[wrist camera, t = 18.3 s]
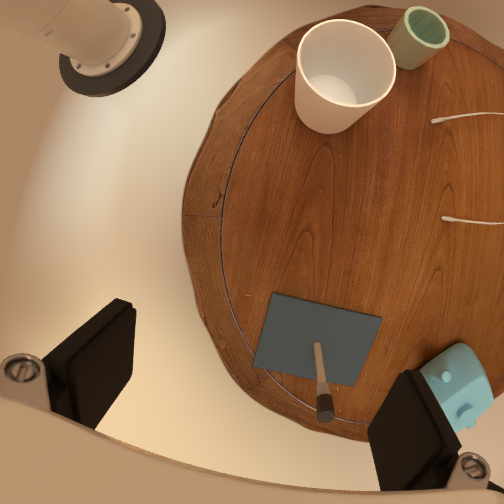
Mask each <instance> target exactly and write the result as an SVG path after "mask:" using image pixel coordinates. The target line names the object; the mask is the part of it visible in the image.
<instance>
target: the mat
mask: <svg viewBox="0 0 504 504" xmlns="http://www.w3.org/2000/svg"><path fill="white" fill-rule="evenodd" d="M381 322H382V317H378V316H374V315H369V314H365V313H360V312H356V311H351V310H347V309H343V308H338V307H334V306H330V305H325V304H321V303H317V302H313V301H308V300H304V299H300V298H296V297H292V296H288V295H284V294H280V293H276V292H272V296H271V300H270V303H269V307H268V311H267V314H266V318H265V322H264V325H263V329H262V333H261V336H260V340H259V343H258V347H257V351H256V354H255V358H254V361H253V365H252V366H255V367H259V368H263V369H267V370H272V371H276V372H281V373H285V374H290V375H294V376H299V377H304V378H309V379H314V380H317V370H316V361H315V352H314V344H315V343H316V342H319V343H320V344H321V350H322V356H323V363H324V369H325V376H326V382H330V383H336V384H342V385H348V386H354V384H355V382H356V380H357V378H358V376H359V373H360V371H361V369H362V367H363V365H364V362H365V360H366V358H367V356H368V353H369V351H370V349H371V346H372V344H373V341H374V339H375V337H376V334H377V332H378V329H379V327H380V324H381Z"/></svg>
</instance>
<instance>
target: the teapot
mask: <svg viewBox="0 0 504 504" xmlns="http://www.w3.org/2000/svg"><path fill="white" fill-rule="evenodd" d="M419 371H420V372H421V373H422V374H423V376H424V378H425V380H426V381H427V383H428V385H429V386H430V388H431V390H432V392H433V393H434V395H435V397H436V399H437V401H438V402H439V404H440V406H441V408H442V410H443V411H444V413H445V415H446V417H447V419H448V421H449V422H450V424H451V426H452V428H453V430H454V432H455V433H457V432H458V431H460V430H462V429H463V428H465V427H467V428H468V429H469V428H471V427H473V426H474V425H475V424H476V421H475V419H477V418H478V417H479V416H480V415H481V414H483V413H484V412H485V411H486V410H487V409H488V408H489V407H490V406H491V404H492V403H493V401H494V398H493V394H492V391H491V388H490V384H489V381H488V379H487V376H486V374H485V371H484V369H483V367H482V365H481V363H480V362H479V360H478V358H477V357H476V355H475V353H474V352H473V351H472V349H471V348H470V347H469V346H468V345H466V344H463V343H457V344H455V345H453V346H451V347H449V348H448V349H446V350H445V351H443V352H442V353H440V354H439V355H437V356H436V357H435V358H433V359H432V360H431V361H429V362H428V363H427V364H426V365H425V366H424V367H422V368H421V369H420V370H419Z"/></svg>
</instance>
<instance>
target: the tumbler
mask: <svg viewBox="0 0 504 504" xmlns="http://www.w3.org/2000/svg"><path fill="white" fill-rule="evenodd" d="M385 42H386V43H387V44H388V46H389V48H390V49H391V51H392V53H393V56H394V59H395V63H396V66H398V67H400V68H402V69H406V70H413V69H416V68H418V67H420V66H421V65H422V64H424V63H425V62H426V61H427V60H429V59H430V58H431V57H432V56H433V55H435V54H436V53H437V52H438V51H440V50H441V49H442V48H443V47H445V45H446V44H447V43H448V42H449V30H448V28H447V25H446V23H445V22H444V21H443V19H442V18H441V17H440V16H439V15H438V14H437V13H435V12H434V11H432V10H430V9H428V8H425V7H421V6H416V7H410V8H409V9H408V10H407V11H406V12H405V14H404V15H403V16H402V18H401V19H400V20H399V22H398V23H397V25H396V26H395V27H394V29H393V30H392V32H391V33H390V34H389V36H388V37H387V39H386V41H385Z"/></svg>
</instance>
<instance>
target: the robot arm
mask: <svg viewBox="0 0 504 504" xmlns="http://www.w3.org/2000/svg"><path fill="white" fill-rule="evenodd" d="M142 29H143V25H142V19H141V16H140V14H139V12H138V11H137V10H136V9H135V8H134V7H132V6H131V5H128V4H125V3H111V2H110V1H109V0H0V30H2V31H5V32H9V33H11V34H14V35H17V36H19V37H23V38H25V39H27V40H30V41H32V42H35V43H37V44H40V45H42V46H45V47H47V48H50V49H52V50H54V51H57V52H59V53H61V54H64V55H66V56H68V57H70V61H71V64H72V66H73V68H74V69H75V70H76V71H77V72H79V73H80V74H83V75H85V76H90V77H97V76H101V75H105V74H107V73H109V72H111V71H113V70H115V69H116V68H118V67H119V66H120V65H121V64H123V63H124V62H125V61H126V60H127V59H128V58H129V57H130V55H131V54H132V53H133V51H134V50H135V48H136V46H137V45H138V43H139V40H140V38H141V34H142ZM135 325H136V309H135V308H133V306H132V303H130V302H127V301H124V300H121V299H118V298H116V299H114V300H113V301H112V302H110V303H109V304H108V305H107V306H105V307H104V308H103V309H102V310H101V311H99V312H98V313H97V314H96V315H94V316H93V317H92V318H91V319H90V320H88V321H87V322H86V323H85V324H83V325H82V326H81V327H80V328H78V329H77V330H76V331H75V332H73V333H72V334H71V335H70V336H69V337H68V338H66V339H65V340H64V341H63V342H62V343H60V344H59V345H58V346H57V347H56V348H55V349H53V351H51V352H50V353H49V354H48V355H47V356H45V357H44V358H43V359H42V360H40V359H39V358H37V357H36V356H33V355H30V354H24V353H20V354H14V355H11V356H8V357H7V358H5V359H4V360H3V362H2V363H1V365H0V504H504V489H503V488H501V487H499V486H498V485H496V484H494V483H492V482H491V481H489V478H490V468H489V465H488V463H487V462H486V461H485V459H483V457H481V456H479V455H478V454H475V453H472V452H466V453H462V454H461V455H460V456H459V455H458V453H457V452H458V450H459V449H460V448H461V447H462V445H461V444H460V442H459V440H458V438H457V436H456V434H455V432H454V430H453V428H452V426H451V424H450V422H449V421H448V419H447V417H446V415H445V413H444V411H443V410H442V408H441V406H440V404H439V402H438V401H437V399H436V397H435V395H434V393H433V392H432V390H431V388H430V386H429V385H428V383H427V381H426V380H425V378H424V376H423V374H422V373H421V372H420V371H414V370H405V371H404V372H403V373H400V374H399V375H398V376H397V378H396V380H395V382H394V384H393V386H392V387H391V389H390V391H389V393H388V395H387V396H386V398H385V400H384V402H383V403H382V405H381V407H380V409H379V410H378V412H377V414H376V415H375V417H374V419H373V420H372V422H371V423H370V425H369V427H368V433H367V434H368V438H369V442H370V447H371V451H372V455H373V459H374V463H375V468H376V472H377V476H378V481H379V485H380V490H381V491H346V490H330V489H318V488H306V487H298V486H290V485H283V484H276V483H270V482H264V481H259V480H253V479H248V478H243V477H238V476H234V475H229V474H225V473H220V472H216V471H212V470H208V469H204V468H201V467H197V466H193V465H190V464H186V463H183V462H179V461H176V460H173V459H170V458H167V457H164V456H160V455H158V454H154V453H152V452H149V451H146V450H143V449H141V448H138V447H135V446H133V445H130V444H127V443H125V442H122V441H119V440H117V439H114V438H112V437H109V436H107V435H105V434H102V433H100V432H98V431H95V428H96V427H97V425H98V424H99V422H100V421H101V420H102V418H103V417H104V415H105V414H106V412H107V411H108V409H109V408H110V407H111V405H112V404H113V402H114V401H115V400H116V398H117V397H118V395H119V394H120V392H121V391H122V390H123V388H124V387H125V385H126V384H127V383H128V381H129V380H130V378H131V375H132V371H133V354H134V337H135Z"/></svg>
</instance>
